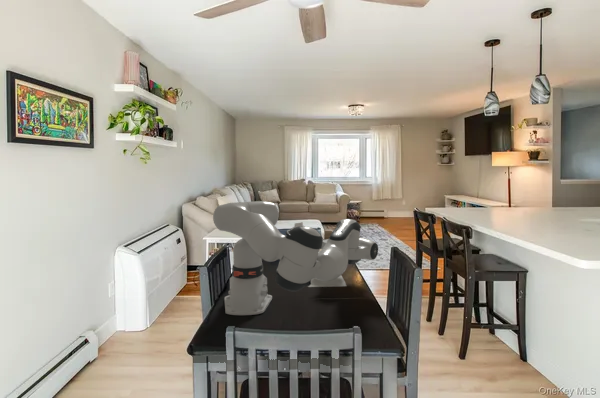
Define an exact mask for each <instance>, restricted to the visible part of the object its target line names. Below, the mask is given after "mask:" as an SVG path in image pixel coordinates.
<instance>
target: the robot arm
mask: <svg viewBox="0 0 600 398" xmlns="http://www.w3.org/2000/svg"><path fill="white" fill-rule="evenodd" d="M279 212H280V211H279V208H278V207H277V205H276V204H275V203H274V202H271V201H266V200H265V201H263V200H258V201H257V200H255V201H243V202H242V201H240V202H227V203H224V204H220V205H217V207H216V208H215V209H214V211H213V216H212V219H213V220H212V221H213V224H214V226H215V228H217V230H218V231H222V232H227V233H230V234H233V235H235V236H238V237H240V239H239V240H237V241H236V242H235V244H234V245H233V249H232V251H233V252H232V254H233V257H232V258H233V260H232V261H233V264H232V269H231V270H232V271H231V272H232V273H231V275H232V276H231V277H229V290H228V291H227V294H228V295H226V296H224V309H225V310H224V311H225V314H227V315H231V316H252V315H259V314H263V313H264V312H265V311H266V310H267V308H268V307H269V305H270V303H271V301H272V299H273V295H271V294H268V293H269V292H268V277H266V276H265V275H264V264H263V262H262V261H265V262H270V263H271V262H275V261H276V262H277V261H278V260H279V262H278V266H277V267H276V269H275V274H274V281H275V283H276V284H277V286H279V287H280V288H281V289H282V290H285V291H288V292H293V293H294V292H298V291H301V290H302V289H305V287H308V286H310V285H311V280H312V279H314V278H316V279H318V280H320V281H325V282H326V281H331V280H334V279H336V278H338V277H339V276H340V275H343V274H344V273H345V271H346V270H347V268H348V265H355V264H357V263H359V262H360V261H361V260H368V261H374V260H375V259H376V258H377V256H378V253H379V245H378V244H377V242H376V241H374V240H371V239H368V238H364V237H361V235H360V232H361V225H360V223H359V222H358V221H357V220H356V219H351V218H343V219H341V220H340V221H338V222H337V223H336V226H335V228H334V229H333V230H332V233H331V235H330V237H329V239H324V236H322V233H320V232H319V231H318V230H316V229H315V228H313V227H310V226H306V225H303V226H298V227H295V228H293V227H292V228H293V229H292V230H291V229H287V230H286V231H285V235H284V234H283V233H282V232H281V231H280V230H279V228H278V227H277V226H275V225H276V224H277V223H278V220H279V216H280V214H279ZM320 249H322V250H321V251H320Z"/></svg>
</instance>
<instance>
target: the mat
mask: <svg viewBox="0 0 600 398" xmlns="http://www.w3.org/2000/svg"><path fill="white" fill-rule="evenodd" d="M342 275H343V274H342ZM342 275H340V276H339V277H338V278H336V279H334V280H331V281H326V282H325V281H320V280H318V279H316V278H314V279H312V280H311V285H310V286H307V287H308V288H322V287H323V288H327V287H329V288H330V287H332V288H334V287H337V288H338V287H347V286H348V285H347V283H346V281H345V280H344V279H345V278H343V276H342Z"/></svg>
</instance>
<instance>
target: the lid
mask: <svg viewBox="0 0 600 398" xmlns="http://www.w3.org/2000/svg"><path fill="white" fill-rule="evenodd" d="M323 232H324V233H323V239H329V237H330V235H331V233H332V232H333V230H332V229H330V228H329V229H324V230H323ZM321 250H322V249H320V251H321Z"/></svg>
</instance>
